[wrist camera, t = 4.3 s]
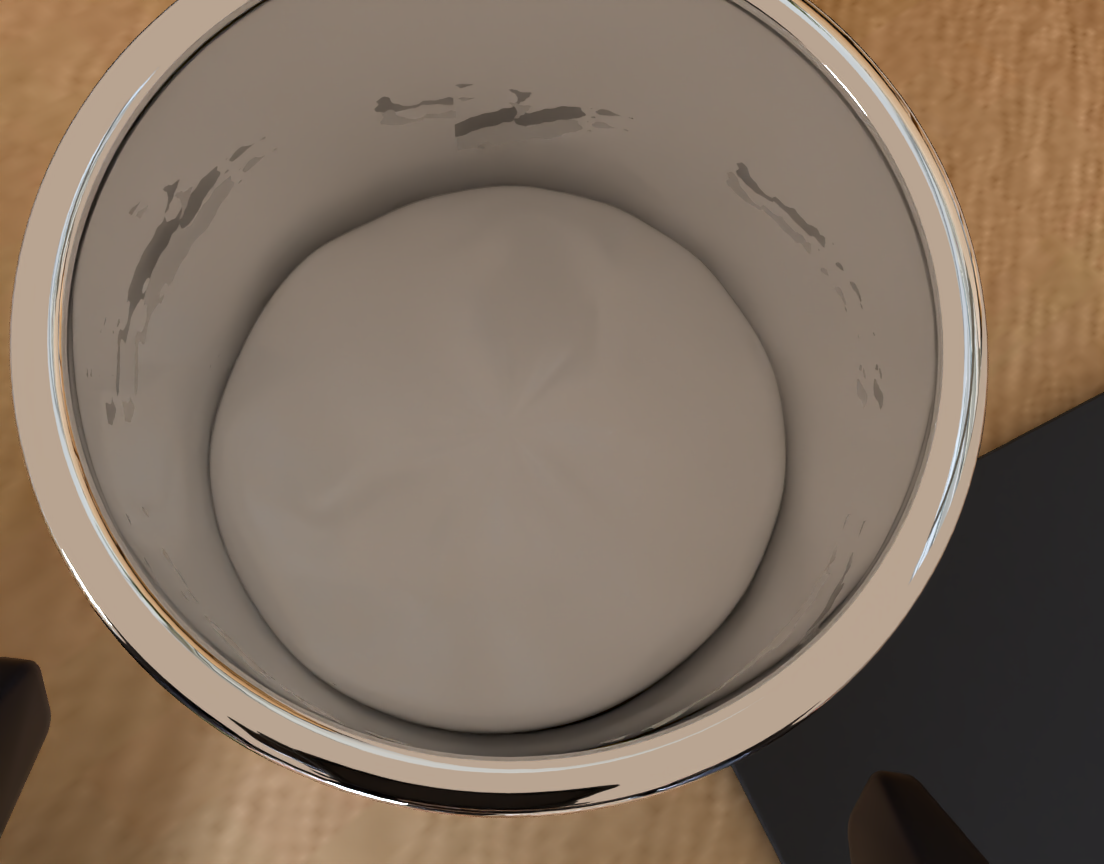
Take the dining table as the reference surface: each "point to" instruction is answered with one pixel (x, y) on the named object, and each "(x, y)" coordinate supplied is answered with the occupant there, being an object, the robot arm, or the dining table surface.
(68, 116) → the dining table surface
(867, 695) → the placemat
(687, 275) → the beer glass
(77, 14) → the dining table surface
